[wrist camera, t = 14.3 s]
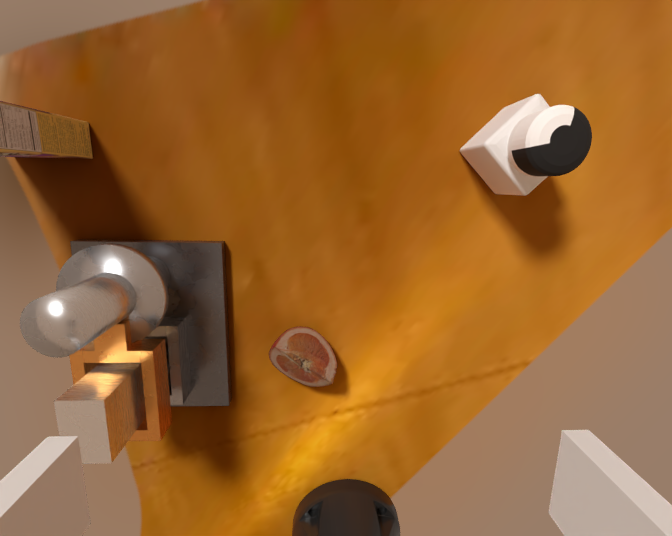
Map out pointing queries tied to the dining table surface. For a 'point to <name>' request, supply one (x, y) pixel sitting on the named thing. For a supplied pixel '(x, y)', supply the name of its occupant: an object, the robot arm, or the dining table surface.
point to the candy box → (42, 134)
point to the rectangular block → (104, 409)
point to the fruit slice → (304, 357)
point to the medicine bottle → (528, 145)
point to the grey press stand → (142, 320)
